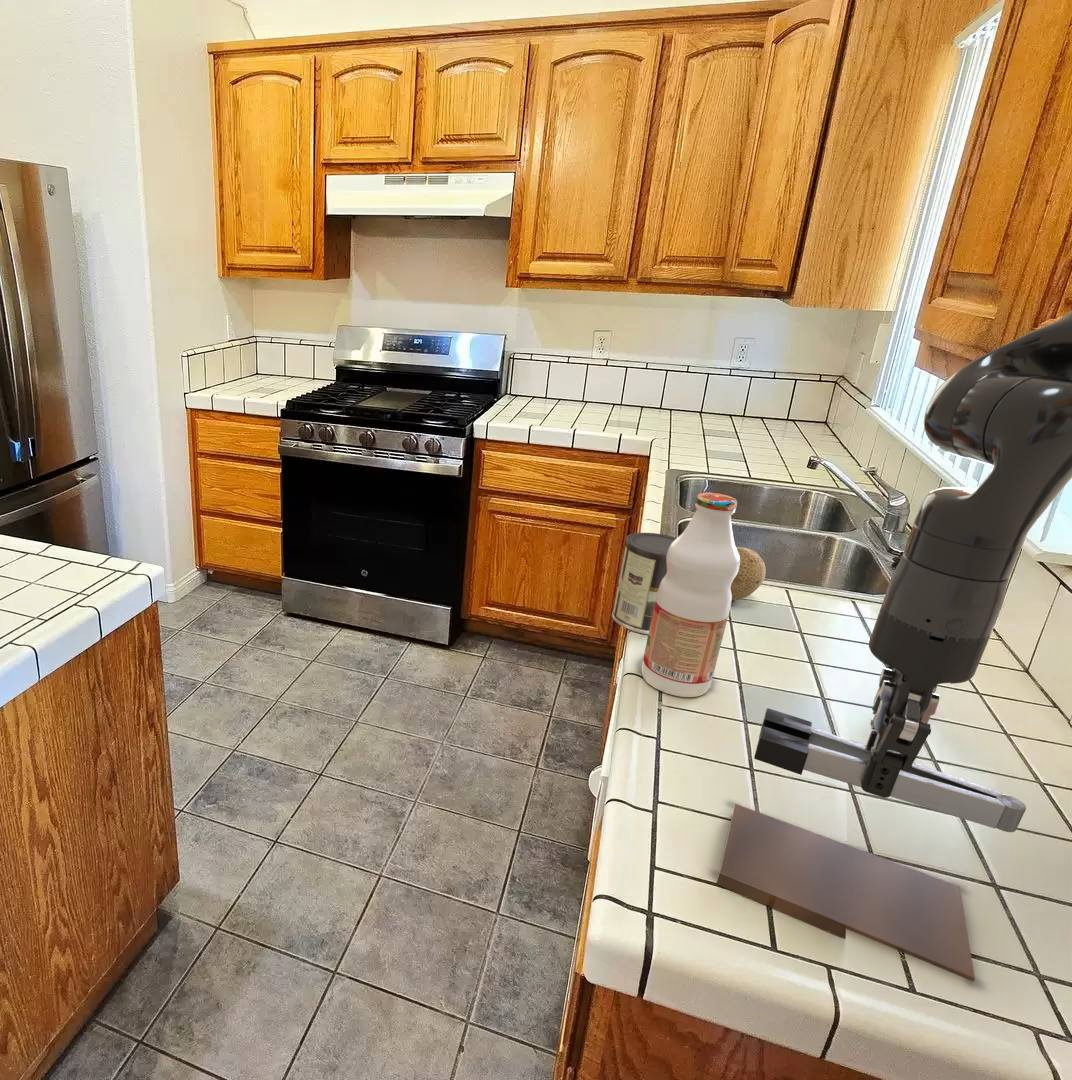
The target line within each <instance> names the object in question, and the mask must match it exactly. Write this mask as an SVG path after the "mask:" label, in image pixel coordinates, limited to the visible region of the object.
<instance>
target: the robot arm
mask: <svg viewBox="0 0 1072 1080" xmlns="http://www.w3.org/2000/svg"><path fill="white" fill-rule="evenodd" d="M923 429H924V431H925V434H926V436H927V439H929V441H930V442H931V443H932V444H933V445H934V446H936V447H937V448H938V449H941V450H943V451H944V452H947V453H949V454H952V455H954V456H958V457H961V458H964V459H969V460H972V461H975V462H979V463H982V464H986V465H989V466H992V468H991V470H990V472H989V473H988V475H987V476H986V478H985V479H984V480H983V481H982V482H981V483H980V484H979V485H978V486H977V487H976V488H971V487H970V488H969V487H959V486H958V487H957V486H956V487H955V486H951V487H950V486H948V487H942V488H941V487H940V488H937V489H935V490H932V491H930V492H929V493H928V494H927V495H925V497H924V498H923V500H922V501H921V503H920V506H919V508H918V510H917V513H916V515H915V518H914V521H913V524H912V527H911V530H910V532H909V536H908V539H907V541H906V545H905V547H904V551H903V552H902V555H901V558H900V560H899V561H898V564H897V565H896V567H895V569H894V571H893V572H892V575H891V578H890V580H889V583H888V586H887V588H886V591H885V595H884V597H883V600H882V602H881V606H880V609H879V612H878V615H877V618H876V621H875V623H874V626H873V629H872V632H871V635H870V638H869V641H868V648H869V651H870V652H871V654H872V655H873V656H874V657H875V658H876V659H877V660H878V661H879V662H881V663H882V664H884V665H885V667H883V668H882V670H881V673H880V675H879V680H878V689H877V691H876V694H875V696H874V698H873V705H872V708H871V710H872V715H874V716H873V718H872V719H870V723H869V725H870V729H871V731H870V734H869V737H868V739H867V743H866V744H865V746H867V747H870V748H871V752H872V753H871V757H870V760H869V762H868V765H867V768H866V771H865V773H864V776H863V779H862V782H861V787H860V788H861V789H862V791H864V792H865V793H868V794H871V795H874V796H877V797H880V798H882V799H887V798H890V797H891V796H890V795H891V793H892V790H893V787H894V785H895V782H896V780H897V777H898V775H899V772H900V769H901V770H903V771H906V772H908V771H909V769H911V768H912V764H913V762H914V763H915V761H916V759H917V758H918V755H919V754H920V752H921V750H922V748H923V746H924V745H925V743H926V741H927V739H928V737H929V736H930V735H931V733H932V729H931V724H930V723H929V721H930V718H931V716H933V715H935V713H936V711H937V708H938V705H939V702H940V694H936V691H937V688H938V685H942V684H950V685H953V684H962V683H966V682H968V681H970V680H972V678H974V676H975V674H976V672H977V669H978V667H979V665H980V662H981V660H982V658H983V654H984V653H985V650H986V647H987V645H988V642H989V640H990V637H991V635H992V633H993V630H994V628H995V625H996V624H997V621H998V618H999V615H1000V613H1001V611H1002V608H1003V606H1004V603H1005V597H1006V593H1007V587H1008V583H1009V582H1010V581H1009V580H1010V577H1011V575H1012V573H1013V571H1014V568H1015V566H1016V563H1017V560H1018V559H1019V556H1020V553H1021V551H1022V549H1023V546H1024V543H1025V541H1026V538H1027V535H1028V534H1029V532H1030V530H1031V529H1032V527H1033V526H1034V525H1035V523H1036V522H1037V521H1038V519H1039V518H1040V517H1041V516H1042V515H1043V514H1044V512H1046V510H1047V509H1048V507H1049V506H1050V505H1051V504H1052V503H1053V501H1054V500H1055V498H1056V497H1057V496H1058V495H1059V494H1060V493H1061V491H1062V490H1063V489H1064V488H1065V486H1066V485H1067V484H1068V483H1069V482H1070V481H1071V480H1072V309H1071V310H1070V311H1068V312H1067V313H1066V314H1064V315H1063V316H1062V317H1061V318H1059V319H1057V320H1055V321H1053V322H1051V323H1049V324H1046V325H1044V326H1041V327H1039V328H1037V329H1034V330H1032V331H1030V332H1028V333H1026V334H1024V335H1021V336H1020V337H1018V338H1016V339H1013V340H1012V341H1009V342H1007V343H1005V344H1003V345H1002V346H999V347H998V348H995V349H993V350H991V351H989V352H987V353H985V354H983V355H981V356H979V357H977V358H976V359H973V360H972V361H970V362H968V363H967V364H966V365H964V366H963V367H961V368H959V369H958V370H956V371H955V372H954V373H953V374H952V375H950V376H949V377H948V378H946V380H945V381H944V382H943V383H942V384H941V385H940V386H939V387H938V388H937V389H936V391H935V392H934V393H933V395H932V396H931V398H930V400H929V402H928V404H927V406H926V408H925V412H924V417H923Z"/></svg>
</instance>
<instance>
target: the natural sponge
mask: <svg viewBox="0 0 1072 1080" xmlns="http://www.w3.org/2000/svg"><path fill="white" fill-rule="evenodd" d="M736 549H737V551H738V553H739V556H740V566H739V571H738V573H737V575H736V577H735V579H734V580H733V582H732V583H731V588H730V589H731V593H732V601H740V600H743V599H746V598H747V597H749V596H751V595H752V594H754V592H756V590H758V589H759V588H760V587H761V585H762V584H763V582H764V580H765V578H766V571H767V569H766V563H765V562H764V560H763V558H762V557H761V556H760V555H759V554H758V553H757V552H756V551H755V550H753V549H750V548H747V547H740V546H738V547H737V546H736Z"/></svg>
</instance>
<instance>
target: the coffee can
mask: <svg viewBox="0 0 1072 1080" xmlns="http://www.w3.org/2000/svg"><path fill="white" fill-rule="evenodd" d="M676 538H677V537H674V536H671V535H667V534H662V533H656V532H636V533H631V534H628V535H627V536H626V537H625V541H624V543H625V547H624V552H623V556H622V563H621V568H620V573H619V578H618V583H617V589H616V594H615V599H614V605H613V608H612V609H613V610H612V613H611V617H612V619H613V621H614V622H615V623H616V624H617V625H619V626H621V627H623V628H624V629H626V630H629V631H632V632H634V633H638V634H643V635H648V634H649V630H650V625H651V620H652V616H653V611H654V606H655V602H656V596H657V592H658V589H659V586H660V583H661V581H662V579H663V578H664V576H665V575H666V573H667V564H666V556H667V552H668V549H669V547H670V545H671V543H672V542H673V541H674V540H675V539H676Z"/></svg>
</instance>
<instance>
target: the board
mask: <svg viewBox="0 0 1072 1080" xmlns="http://www.w3.org/2000/svg"><path fill="white" fill-rule="evenodd" d="M733 806H734V807H733V810H732V813H731V818H730V822H729V827H728V832H727V835H726V839H725V844H724V848H723V852H722V857H721V862H720V866H719V870H718V875H717V879H716V883H715V884H716V885H717V886H719V887H722V888H724V889H725V890H728V891H731V892H734V893H735V894H738V895H740V896H743V897H745V898H748V899H750V900H752V901H755V902H757V903H760V904H761V905H765V906H766V907H769V908H771V909H774V910H777V911H778V912H781V913H783V914H786V915H788V916H790V917H793V918H795V919H798V920H800V921H803V922H804V923H807V924H809V925H812V926H814V927H816V928H819V929H821V930H823V931H826V932H829V933H831V934H832V935H833V934H834V935H835V936H838V937H840V938H843V939H845V940H846V938H847V936H846V935H847V930H848V931H851V932H853V933H856V934H858V935H860V936H862V937H865V938H867V939H870V940H872V941H874V942H876V943H879V944H882V945H884V946H887V947H890V948H891V949H894V950H897V951H899V952H901V953H903V954H906V955H908V956H911V957H913V958H916V959H918V960H920V961H923V962H926V963H928V964H929V965H933V966H935V967H937V968H940V969H941V970H945V971H947V972H949V973H952V974H953V975H954V974H955V975H957V976H959V977H961V978H963V979H966V980H968V981H971V982H974V981H975V978H976V977H975V971H974V965H973V959H972V953H971V947H970V941H969V934H968V929H967V923H966V917H965V912H964V911H965V910H964V904H963V899H962V892H961V887H960V885H957V884H955V883H952V882H950V881H947V880H944V879H941V878H938V877H936V876H934V875H930V874H928V873H925V872H922V871H919V870H917V869H914V868H911V867H909V866H906V865H903V864H901V863H898V862H895V861H893V860H889V859H888V858H885V857H882V856H878V855H876V854H873V853H871V852H868V851H865V850H862V849H860V848H857V847H854V846H851V845H849V844H846V843H844V842H841V841H839V840H836V839H833V838H830V837H828V836H824V835H822V834H819V833H817V832H814V831H811V830H808V829H806V828H802V827H800V826H798V825H795V824H792V823H790V822H786V821H784V820H781V819H779V818H776V817H773V816H770V815H768V814H764V813H763V812H760V811H757V810H754V809H751V808H749V807H746V806H743V805H740V804H737V803H735V804H734V805H733Z"/></svg>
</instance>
